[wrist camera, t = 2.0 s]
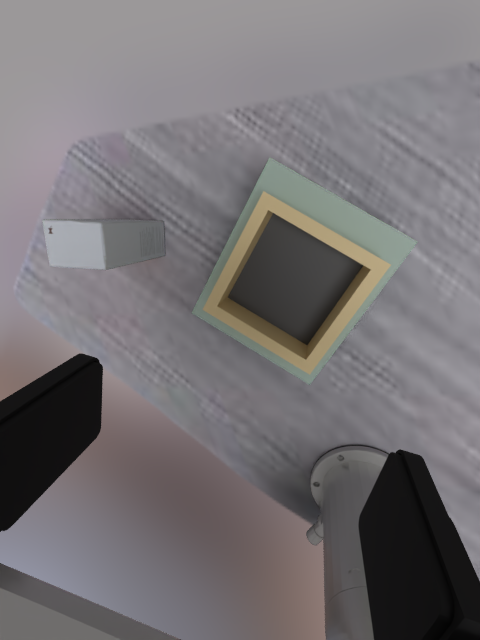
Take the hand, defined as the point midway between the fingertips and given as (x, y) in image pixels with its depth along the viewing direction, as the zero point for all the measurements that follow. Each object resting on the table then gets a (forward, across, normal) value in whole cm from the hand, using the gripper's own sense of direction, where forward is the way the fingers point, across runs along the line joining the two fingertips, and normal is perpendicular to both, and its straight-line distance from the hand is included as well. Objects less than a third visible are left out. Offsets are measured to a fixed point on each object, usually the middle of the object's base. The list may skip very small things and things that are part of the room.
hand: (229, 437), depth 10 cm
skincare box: (+28, +18, 0) cm, 34 cm away
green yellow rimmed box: (+28, 0, 0) cm, 28 cm away
